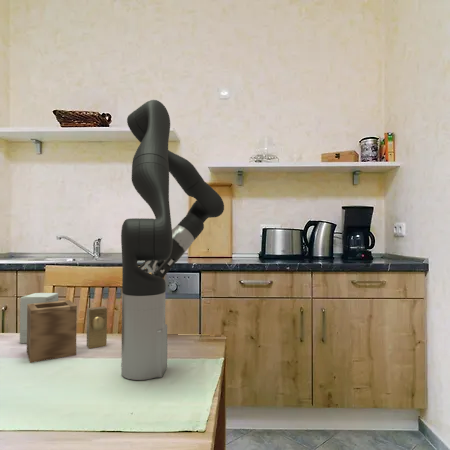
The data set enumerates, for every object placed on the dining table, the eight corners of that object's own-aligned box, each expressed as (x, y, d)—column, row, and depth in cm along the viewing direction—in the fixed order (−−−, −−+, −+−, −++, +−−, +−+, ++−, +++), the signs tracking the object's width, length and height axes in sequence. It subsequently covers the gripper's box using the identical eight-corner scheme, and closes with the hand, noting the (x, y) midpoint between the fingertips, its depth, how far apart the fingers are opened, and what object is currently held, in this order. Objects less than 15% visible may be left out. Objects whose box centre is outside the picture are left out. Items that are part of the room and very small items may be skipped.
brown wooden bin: (69, 345, 97) (69, 300, 97) (76, 354, 90) (76, 305, 90) (26, 351, 92) (27, 304, 92) (30, 362, 84) (30, 310, 84)
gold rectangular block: (103, 343, 99) (104, 306, 99) (106, 345, 97) (106, 308, 97) (86, 346, 97) (86, 308, 97) (88, 348, 94) (89, 310, 94)
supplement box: (46, 344, 98) (46, 297, 98) (18, 343, 98) (19, 296, 99) (58, 336, 106) (59, 292, 106) (33, 335, 106) (34, 292, 106)
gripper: (158, 234, 114) (121, 273, 108) (178, 235, 102) (138, 279, 96) (173, 251, 117) (138, 289, 111) (194, 253, 105) (157, 297, 99)
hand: (138, 284), depth 103 cm, fingers open, 8 cm apart
